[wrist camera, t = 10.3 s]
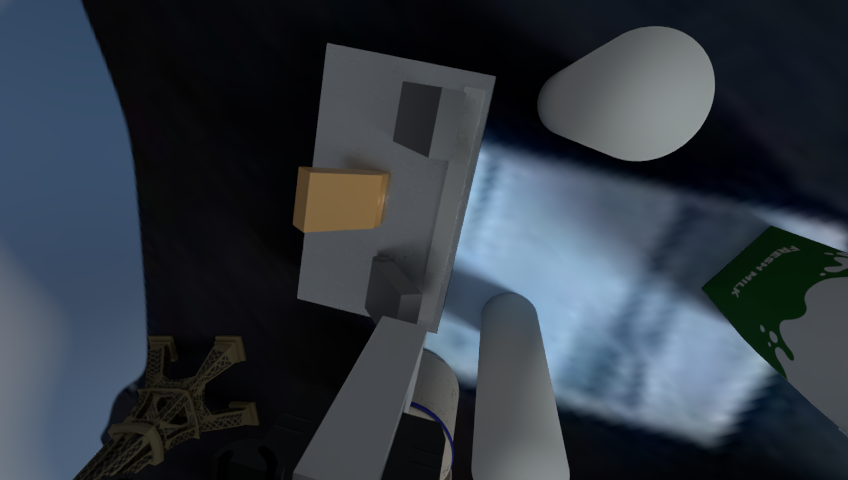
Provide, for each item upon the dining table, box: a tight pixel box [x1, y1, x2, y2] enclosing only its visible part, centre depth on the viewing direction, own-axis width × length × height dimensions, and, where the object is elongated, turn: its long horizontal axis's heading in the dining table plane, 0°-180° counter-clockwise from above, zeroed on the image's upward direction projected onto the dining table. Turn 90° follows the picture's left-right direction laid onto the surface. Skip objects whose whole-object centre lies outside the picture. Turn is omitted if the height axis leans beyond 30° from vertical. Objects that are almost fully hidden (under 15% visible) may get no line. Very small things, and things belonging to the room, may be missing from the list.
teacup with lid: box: [408, 350, 459, 480], centre depth 38 cm, size 12×9×12 cm
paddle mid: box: [293, 167, 389, 233], centre depth 31 cm, size 2×4×7 cm
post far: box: [472, 293, 570, 480], centre depth 32 cm, size 5×5×18 cm
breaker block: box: [297, 43, 496, 334], centre depth 36 cm, size 12×20×5 cm, turn 169°
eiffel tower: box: [73, 335, 260, 480], centre depth 36 cm, size 11×11×25 cm
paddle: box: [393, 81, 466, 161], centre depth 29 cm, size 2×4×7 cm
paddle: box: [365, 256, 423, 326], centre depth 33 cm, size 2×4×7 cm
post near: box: [537, 26, 715, 161], centre depth 26 cm, size 5×5×18 cm
